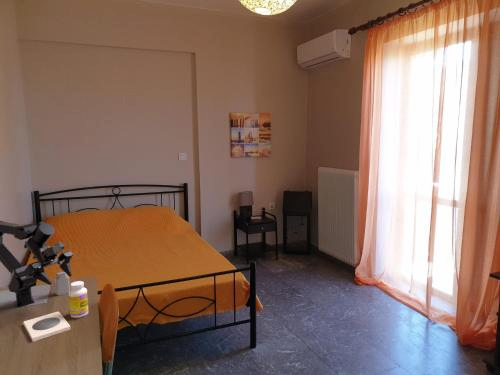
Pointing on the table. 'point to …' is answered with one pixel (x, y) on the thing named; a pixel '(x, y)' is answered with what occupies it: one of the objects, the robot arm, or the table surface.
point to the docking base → (46, 326)
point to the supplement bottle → (78, 300)
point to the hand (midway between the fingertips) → (61, 280)
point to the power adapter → (62, 283)
